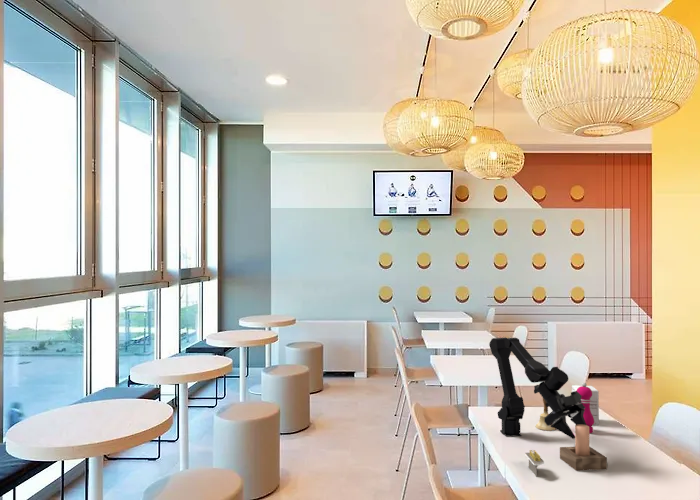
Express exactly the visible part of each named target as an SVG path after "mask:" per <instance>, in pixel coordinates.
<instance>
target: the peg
mask: <svg viewBox="0 0 700 500" xmlns="http://www.w3.org/2000/svg"><path fill="white" fill-rule="evenodd" d="M574 429H575V431H574V436H575V438H574V439H575V440H574V443H575V444H574V445H575V446H574V447H576V454H577V455H578V456H590V447H591V446H590V443H591V442H590V433H589V426H587V425H582V424H577V425H576V424H575V425H574Z"/></svg>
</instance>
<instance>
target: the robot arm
mask: <svg viewBox="0 0 700 500" xmlns="http://www.w3.org/2000/svg"><path fill="white" fill-rule="evenodd" d="M488 345H489V346H488V347H489V349H490V352H491V355H492V356H493V357H494V358H495V359H496V362H497V366H498V371H499V376H500V381H501V387H502V392H503V397H502V399H501V408H500V409H499V411H498V412H497V418H498V419H500V420H501V429H500V430H499V431H500V432H501V434H503V435H504V436H505V437H517V436H518V437H521V436H522V434H521V422H520V420H523V418H524V414H525V407H526V406H525V404H524V403H525V402H524V398H523V396H519V395H518V393H517V391H516V386H515V380H514V375H513V371H512V366H511V362H510V357H511V356H510V355H511V353H512V354H513V356H515V358H516V359H517V360H518V361H519V363H520V364H521V365H522V367H523V368H524V374H525V375H526V378H527V379H528V381H530V382H531V383H534V384H535V383H539V384H536V385H534V387H533V388H534V389H533V393H534V394H536V395H537V394H538V393H539V395H540V396H541V397H542V400H543V399H544V400H545V401H546V403H547V404H545V405H546V407H548V408H550V409H551V412H550V413H548V415H547V416H546V417H545V418H544V422H545V423H546V424H547V426H550V425H551V427H553V428H555V429H556V430H557V431H559V432H561V434H564V435H566V436H567V437H569V438H570V439H573V440H574V439H575V433H574V432H573V431H572V429H571V428H570V426H569V425H568V423H567V418H566V417H568V418H569V419H570V421H571V422H572V423H573V424H575V425H577V424H582V425H586V423H585V420H584V417H583V415H584V411H585V406H584V405H583V404H582V403H581V397H582V396H581V395H580V394H579V393H578V392H577V391H574V392H572V391H571V392H570V394H569V395H567V396H565V394H564V393H561V394H560V392H559V390H561V389H562V388H563V387H564V385H565V384H567V382H569V375H568V374H567V373H566V372H565V371H564V370H562V369H559V367H558V366H552V367H551V369H550V370H549V369H548V367H547V366H546V365H545V364H543V363H542V362H540V361H537V360H535V358H534V357H533V356H532V355H531V354H530V353H529V352H528V350H527V349H526V348H525V347H524V345H523V344H522V343H521V342H520V339H519V338H517V337H506V336H505V337H493V338H491V340H490V342H489V343H488Z"/></svg>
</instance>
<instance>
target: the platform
mask: <svg viewBox="0 0 700 500" xmlns="http://www.w3.org/2000/svg"><path fill="white" fill-rule="evenodd" d="M524 455H525V456H526V458H527V459H528V468H529V470H531V473H533V474H534V476H535V477H536V478H537V477H538V466H541V465H544V464H545V461H544V460H543V459H542V457H541V455H540V454H539V453H538V452H537V451H536V450H534V452H533V449H532V450H531V449H530V450H529V452H525V453H524Z"/></svg>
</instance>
